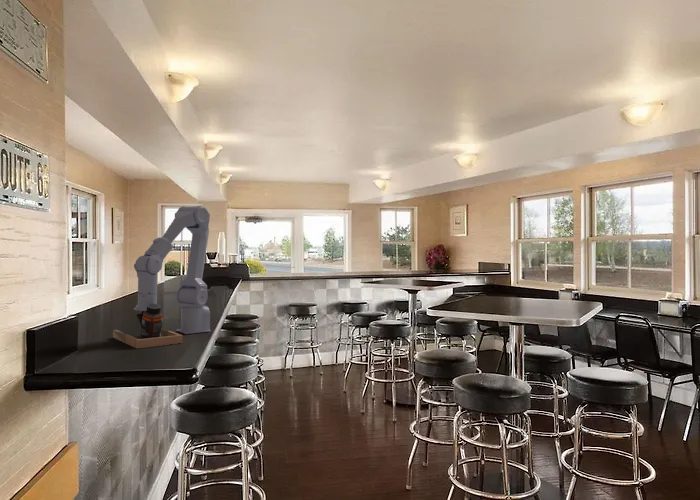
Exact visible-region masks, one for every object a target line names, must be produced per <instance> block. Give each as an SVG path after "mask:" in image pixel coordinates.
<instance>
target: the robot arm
mask: <svg viewBox="0 0 700 500" xmlns="http://www.w3.org/2000/svg"><path fill="white" fill-rule="evenodd" d="M210 217H211V214H210V212H209V211H208V210H207V208H206V207H205V206H204V205H200V206H184V205H183V206H181V207H178V208H177V211H176V212H175V213H174V218H173V220H172V222H171V223H170V224H169V226H168V227H167V229H166V231H165V233H164V234H163V235H162V237H161V236H159V237H156V238H154V239H153V241H152V244H151V245H150V247H149V248H148V249H147V250H146V251H145V252H144V254H143V255H140V256H138V258H137V259H136V260H135V263H133V268H134V270H135V272H136V277H137V304H136V305H135V307H133V310H134V311H136V312H140V313H137V314H136V317H137V319H138V321H139V324H140V328H141V327H142V318H143V313H144V312H145V311H146V310H147V305H149V304H158V273H159V272H161V270H162V268H163V263H164V260H165V259H166V257H167V255H168V254H170V251H171V250H172V249H173V246H172V243H173V241H175V240H176V238H177V237H178V236H179V235H180V234H181V233H182V231H183V230H184V229H187V230H188V231H190V233H191V242H190V243H191V244H190V250H189V256H188V262H187V269H186V277H185V278H184V279H183V280H182V281H181V282H180V284H179V288H178V290H177V292H176V297H175V298H176V301H177V303H178V304H179V307H180V308H181V309H180V329H179V328H178V329H175V331H176V332H177V333H181V334H184V335H188V334H199V333H207V332H211V331H212V330H211V311H210V308H209V306H207V305H205V304H206V303H207V301H208V297H209V296H208V285H207V283H205V281H204V280H203V275H204V270H205V261H206V254H207V247H208V241H209V236H210V235H209V233H210V228H209V227H210V225H209V224H210Z"/></svg>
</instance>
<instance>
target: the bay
mask: <svg viewBox="0 0 700 500" xmlns="http://www.w3.org/2000/svg"><path fill="white" fill-rule="evenodd" d="M112 337H113V338H114V339H115V340H117V341H119V342H121V341H122V342H121V343H124V344H126V345H129V346H131V347H133V348H134V349H138V350H139V349H145V348H153V347H162V346H163V345H164V346H171V345H170V344H172V345H179V344H178V343H181V344H183V343H184V340H183V339H184V335H183V334H182V333H181V334H180V333H179V332H175V331H172V330H168V329H165V328H163V327H162V329H161V337H156V338H147V339H141V338H137V337H134V336H132V335H129V334H128V333H125V332H123V331H120V330H118V329H113V330H112ZM164 346H163V347H164Z"/></svg>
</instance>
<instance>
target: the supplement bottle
mask: <svg viewBox="0 0 700 500" xmlns="http://www.w3.org/2000/svg"><path fill="white" fill-rule="evenodd" d="M161 308H162V306H161V305H160V304H158V303H157V304H149V305H147V310H146V311H145V312H144V313H143V318H142V327H141V326H140V336H139V337H140V338H139V339H147V338H156V337H161V329H162V328H163V319H164V314H163V312H162V310H161Z"/></svg>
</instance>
